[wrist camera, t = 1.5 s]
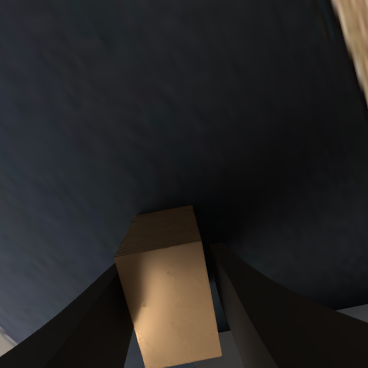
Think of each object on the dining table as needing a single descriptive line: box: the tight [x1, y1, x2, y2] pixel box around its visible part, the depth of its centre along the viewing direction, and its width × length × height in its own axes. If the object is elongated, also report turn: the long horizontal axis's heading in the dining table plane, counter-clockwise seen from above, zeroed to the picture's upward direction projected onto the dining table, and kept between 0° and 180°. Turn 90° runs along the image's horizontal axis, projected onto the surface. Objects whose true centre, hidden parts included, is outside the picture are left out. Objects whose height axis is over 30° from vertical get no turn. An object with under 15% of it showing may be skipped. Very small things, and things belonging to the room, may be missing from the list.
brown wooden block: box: [114, 205, 222, 368], centre depth 9 cm, size 3×5×4 cm, turn 10°
